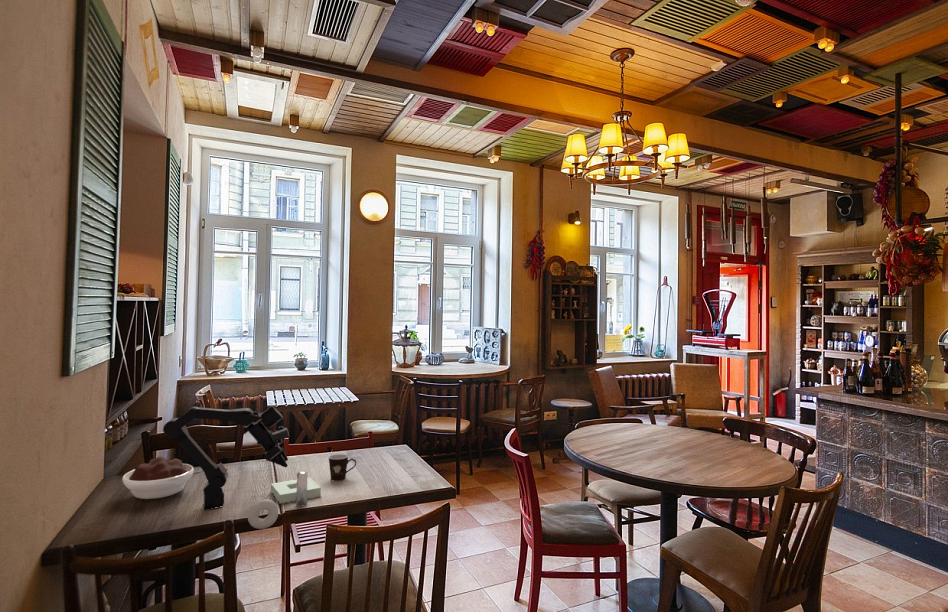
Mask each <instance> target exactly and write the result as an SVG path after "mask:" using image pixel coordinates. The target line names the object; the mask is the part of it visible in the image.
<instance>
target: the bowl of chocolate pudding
mask: <svg viewBox="0 0 948 612" xmlns="http://www.w3.org/2000/svg"><path fill="white" fill-rule="evenodd" d="M194 471H195V469H194V466H193V465H191V464H188V463H183V461H182V460H181V459H178V458H173V459H171V460H168V459H166V458H165V457H163V456H157V457H155V458H151V459H150V460H149V461H148V463H145V462H143V463H142V464H141V463H140V464H139V465H138V466H137V467H136V468H135V469H132V470H130V471H128V472H126V473H125V474H124V475H123V476H122V483H123V485H124V486H125V487H126V488H127V489H128V490H129V491H130V493H131V494H132V495H133V497H134V498H137V499H142V500H152V499H153V500H154V499H162V498H165V497H166V498H167V497H169V496H173V495H176V494H178V493H180V491H182V490H183V489H184V488H185V486H186V484H187V482H188V481H189V480H190V479H191V477H192V476H193V474H194Z"/></svg>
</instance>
